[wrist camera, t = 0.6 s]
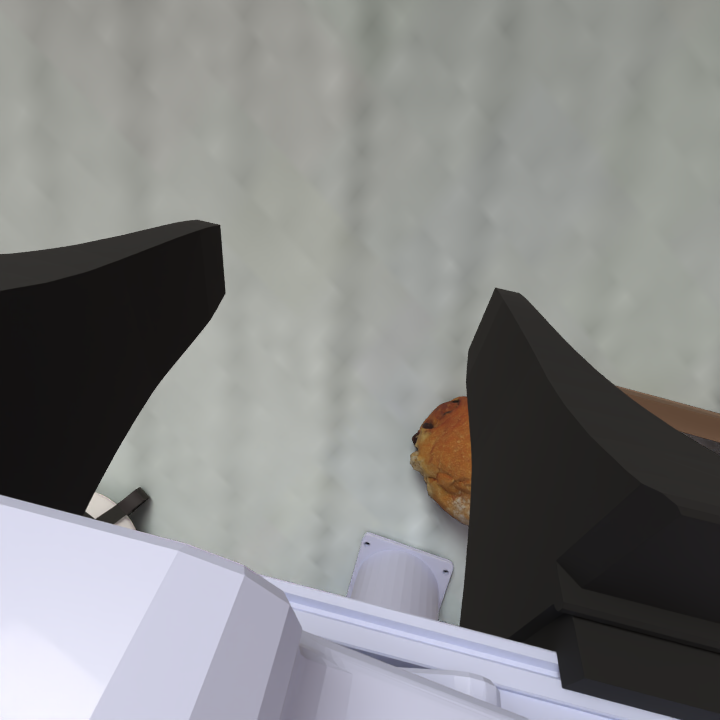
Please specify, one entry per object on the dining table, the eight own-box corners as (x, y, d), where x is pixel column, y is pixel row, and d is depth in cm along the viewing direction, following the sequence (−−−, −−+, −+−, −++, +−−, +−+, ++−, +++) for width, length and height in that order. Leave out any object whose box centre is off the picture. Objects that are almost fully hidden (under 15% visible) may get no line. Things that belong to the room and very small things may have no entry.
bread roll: (482, 497, 37) (536, 566, 30) (384, 472, 34) (416, 543, 26) (534, 402, 35) (607, 452, 27) (434, 366, 31) (485, 412, 24)
